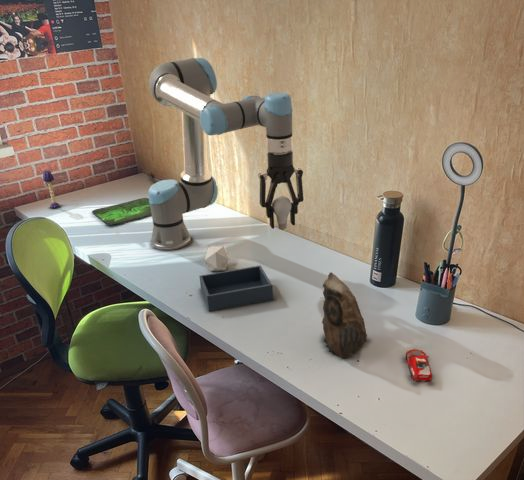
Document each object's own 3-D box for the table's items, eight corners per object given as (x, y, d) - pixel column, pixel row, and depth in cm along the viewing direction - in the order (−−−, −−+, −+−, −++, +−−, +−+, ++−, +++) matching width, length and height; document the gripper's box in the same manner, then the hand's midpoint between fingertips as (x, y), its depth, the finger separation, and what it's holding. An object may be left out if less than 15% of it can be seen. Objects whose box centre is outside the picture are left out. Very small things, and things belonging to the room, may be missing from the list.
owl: (344, 362, 154) (346, 298, 143) (307, 346, 161) (306, 284, 150) (369, 341, 162) (373, 279, 150) (332, 326, 169) (334, 266, 157)
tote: (201, 290, 191) (199, 275, 188) (261, 279, 195) (260, 265, 192) (209, 311, 180) (207, 296, 176) (273, 299, 183) (272, 284, 180)
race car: (403, 355, 156) (405, 343, 153) (423, 354, 155) (425, 342, 153) (411, 385, 145) (413, 372, 143) (433, 385, 145) (435, 372, 142)
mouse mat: (146, 197, 266) (145, 195, 265) (167, 211, 250) (166, 209, 250) (90, 212, 254) (90, 210, 253) (109, 227, 239) (108, 225, 238)
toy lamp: (60, 204, 265) (51, 168, 255) (61, 207, 261) (52, 171, 252) (50, 206, 263) (40, 170, 254) (51, 209, 260) (41, 173, 250)
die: (220, 278, 198) (234, 253, 196) (198, 266, 197) (211, 240, 195) (222, 275, 207) (235, 251, 204) (200, 263, 206) (213, 239, 203)
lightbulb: (294, 227, 182) (293, 193, 176) (288, 234, 177) (287, 200, 171) (276, 225, 184) (275, 192, 177) (270, 232, 179) (268, 199, 173)
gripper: (251, 158, 162) (255, 234, 175) (314, 150, 165) (314, 225, 178) (245, 151, 168) (250, 225, 181) (307, 143, 171) (307, 216, 184)
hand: (282, 225), depth 180 cm, fingers closed on lightbulb, 6 cm apart
